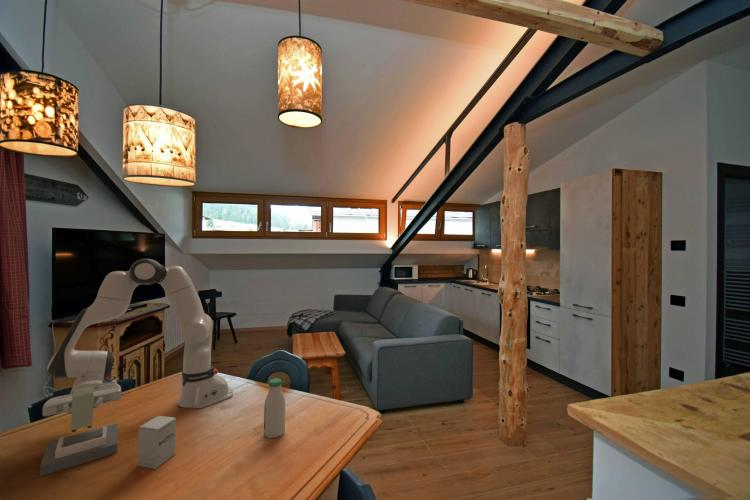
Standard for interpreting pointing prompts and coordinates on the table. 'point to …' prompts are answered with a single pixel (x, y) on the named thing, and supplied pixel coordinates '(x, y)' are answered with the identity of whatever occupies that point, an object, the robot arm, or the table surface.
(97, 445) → the dock
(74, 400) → the pale green footed pillar
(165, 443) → the supplement box
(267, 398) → the milk bottle
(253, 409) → the table surface
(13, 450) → the table surface
